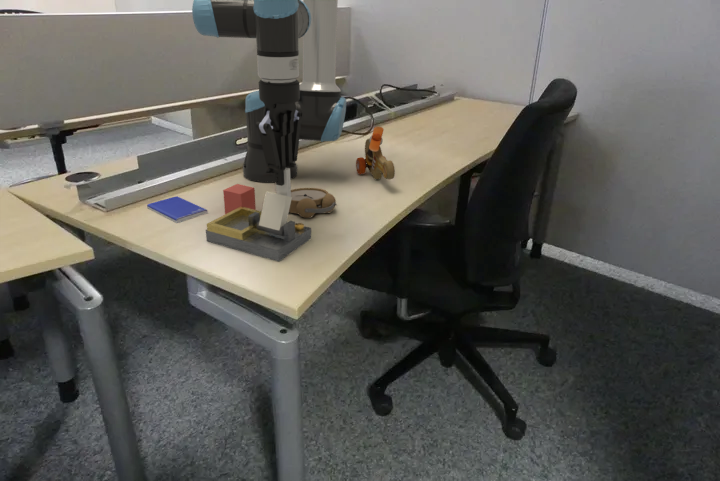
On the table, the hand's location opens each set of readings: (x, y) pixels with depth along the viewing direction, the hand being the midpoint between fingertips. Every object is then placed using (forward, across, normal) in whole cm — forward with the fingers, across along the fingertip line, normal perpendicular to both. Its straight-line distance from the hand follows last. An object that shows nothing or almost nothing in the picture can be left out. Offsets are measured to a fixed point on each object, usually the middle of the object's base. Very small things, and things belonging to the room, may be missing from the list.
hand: (283, 198), depth 106 cm
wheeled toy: (+10, +44, -1) cm, 45 cm away
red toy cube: (+9, +6, +17) cm, 20 cm away
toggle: (+5, -4, 0) cm, 7 cm away
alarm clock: (+10, +16, +4) cm, 19 cm away
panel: (+9, -3, +4) cm, 10 cm away
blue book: (+10, 0, +30) cm, 31 cm away
